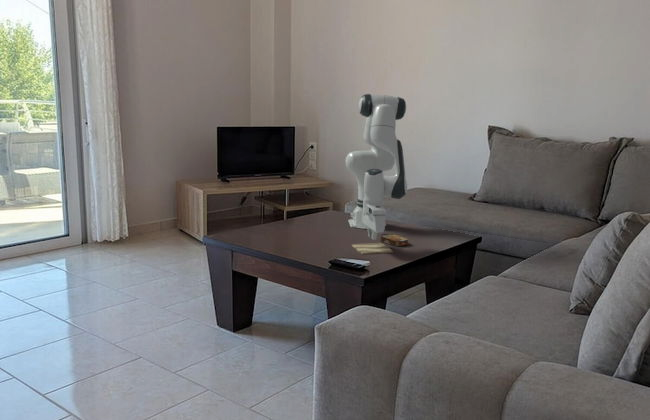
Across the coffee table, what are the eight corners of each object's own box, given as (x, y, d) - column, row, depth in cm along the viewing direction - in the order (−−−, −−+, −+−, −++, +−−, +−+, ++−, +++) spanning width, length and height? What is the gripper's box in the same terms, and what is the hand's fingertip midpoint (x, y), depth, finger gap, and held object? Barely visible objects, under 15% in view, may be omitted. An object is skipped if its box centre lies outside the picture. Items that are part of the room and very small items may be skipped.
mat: (351, 245, 263) (351, 244, 263) (381, 244, 267) (381, 242, 267) (361, 254, 249) (361, 252, 249) (393, 252, 252) (393, 251, 252)
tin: (376, 235, 273) (390, 231, 277) (376, 241, 274) (390, 238, 278) (397, 241, 260) (411, 238, 265) (397, 248, 261) (412, 244, 265)
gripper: (359, 203, 264) (358, 233, 266) (373, 211, 244) (373, 244, 247) (372, 202, 265) (371, 232, 268) (388, 211, 246) (387, 243, 248)
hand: (372, 238), depth 257 cm, fingers open, 3 cm apart
